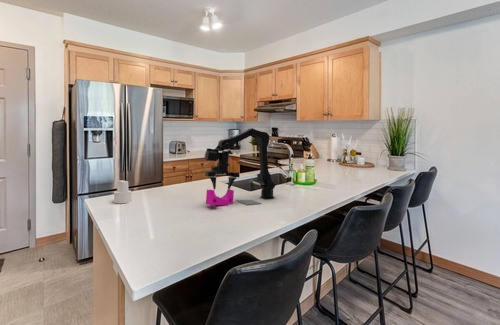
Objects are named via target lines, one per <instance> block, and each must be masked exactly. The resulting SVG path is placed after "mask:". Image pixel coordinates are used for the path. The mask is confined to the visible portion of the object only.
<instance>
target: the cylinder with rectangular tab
mask: <svg viewBox="0 0 500 325" xmlns="http://www.w3.org/2000/svg"><path fill="white" fill-rule="evenodd" d="M131 202H132V190H129V181H127V180H117V181H116V191H113V203H114V204H128V203H131Z"/></svg>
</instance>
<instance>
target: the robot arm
mask: <svg viewBox="0 0 500 325" xmlns="http://www.w3.org/2000/svg"><path fill="white" fill-rule="evenodd" d="M249 137H251V138H252V139H255V140H256V144H257V146H258V149H259V150H258V152H259V153H258V154H259V167H260V168H259V169H260V170H259V173H257V174H256V175H257V179H256V180H257V182H258V183H259V185H260V187H261V194H260V198H262V199H275V196H274V189H275V187H276V184H275V183H274V182H273V179H272V176H271V173H270V171H269V160H268V156H269V155H268V145H269V143H270V134H269V133H268V132H265V131H264V132H263V131H260V130H257V129H255V128H252V127H251V128H248V129H246V130H245V131H242V132H240V133H238V134H236V135H233V136H232V137H229V138H224V139H221V140H219V141H218V143H217V146H216V147H215V148H206V151H205V153H204V159H205V161H206V162H217V161H218V162H217V164H216V165H211V168H210V170H206V171H205V173H204V176H205V177H207V178H209V179H210V181H211V183H212V188H213V190H214V191H215V190H216V186H217V176H219V177H220V176H221V177H228V183H227V190H231V187H232V185H233V183H234V182H235V180H237V179H239V178H240V175H241V174H240V172H237V171H229V166H230V164H229V162H230V161H229V160H230V155H233V154H234V153H233V152H232V151H231V150H230V149H232V148H233V147H234V146H235V144H237V143H239V142H241V141H243V140H245V139H247V138H249Z"/></svg>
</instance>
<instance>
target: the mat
mask: <svg viewBox="0 0 500 325" xmlns="http://www.w3.org/2000/svg"><path fill="white" fill-rule="evenodd" d="M235 201H236V203H237V202H238V203H239V204H242V205H245V206H255V205H262V202H260V201H256V200H253V199H235Z"/></svg>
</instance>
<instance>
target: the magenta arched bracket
mask: <svg viewBox="0 0 500 325" xmlns="http://www.w3.org/2000/svg"><path fill="white" fill-rule="evenodd" d="M205 194H206V196H205V204H207V205H209V206H227V205H233V204H234V195H235V190H234V189H229V190H228V189H227V190H226V193H225V194H224V195H223V196H221V197H220V196H219V195H218V196H217V195H216V193H215V190H214V189H206V193H205Z"/></svg>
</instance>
